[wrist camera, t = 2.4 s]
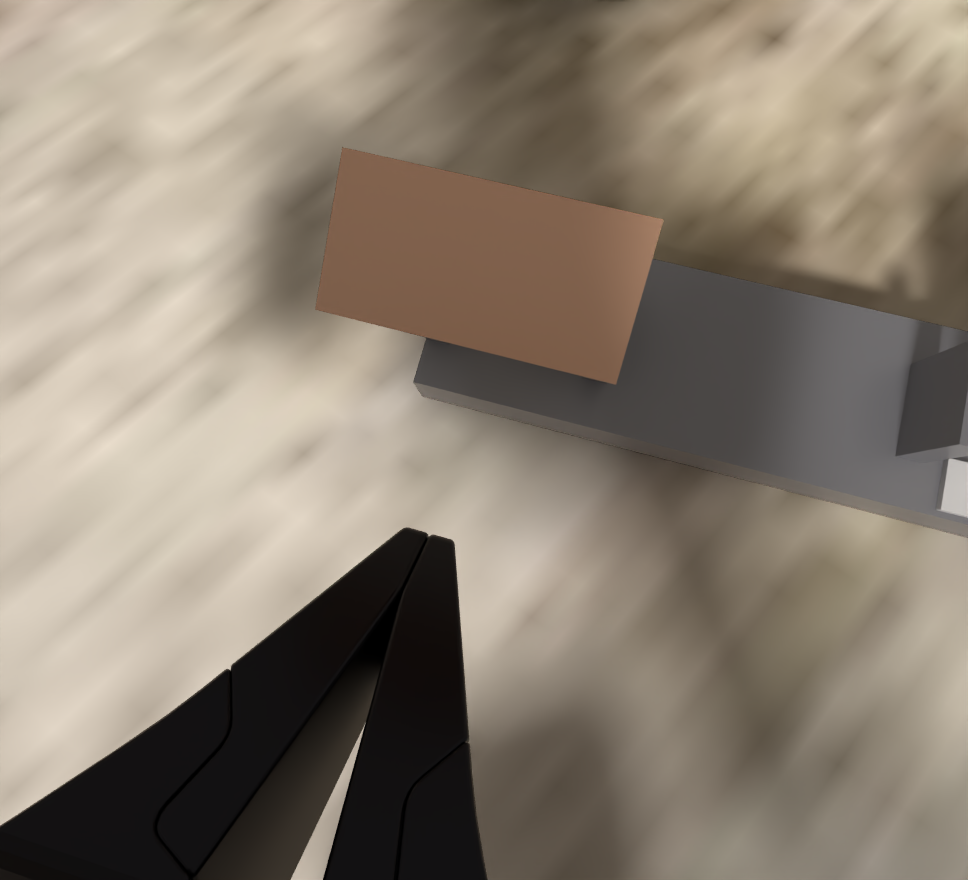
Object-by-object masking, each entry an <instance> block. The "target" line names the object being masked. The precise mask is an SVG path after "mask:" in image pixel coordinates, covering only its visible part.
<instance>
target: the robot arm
mask: <svg viewBox="0 0 968 880" xmlns="http://www.w3.org/2000/svg"><path fill="white" fill-rule="evenodd" d="M365 722H366V724H365ZM364 724H365V727H364ZM363 727H364V731H363V735H362V738H361V742H360V746H359V749H358V753H357V757H356V760H355V764H354V768H353V771H352V775H351V779H350V782H349V786H348V790H347V793H346V797H345V801H344V804H343V808H342V812H341V815H340V819H339V823H338V826H337V830H336V834H335V837H334V841H333V845H332V848H331V852H330V856H329V859H328V863H327V867H326V870H325V874H324V878H323V880H488V879H487V874H486V869H485V863H484V857H483V851H482V846H481V840H480V834H479V828H478V821H477V815H476V806H475V797H474V787H473V778H472V767H471V753H470V745H469V743H468V741H469V730H468V716H467V703H466V690H465V676H464V663H463V650H462V636H461V623H460V610H459V596H458V583H457V570H456V556H455V544H454V542H453V540H451V539H447V538H444V537H440V536H437V535H430V536H428V534H427V533H425V532H422V531H419V530H415V529H411V528H403V529H402V530H400V531H399V532H398V533H396V534H395V535H394V536H393V537H391V538H390V539H389V540H388V541H386V542H385V543H384V544H383V545H381V546H380V547H379V548H378V549H376V550H375V551H374V552H373V553H371V554H370V555H369V556H368V557H366V558H365V559H364V560H363V561H361V562H360V563H359V564H358V565H356V566H355V567H354V568H353V569H351V570H350V571H349V572H348V573H346V574H345V575H344V576H343V577H341V578H340V579H339V580H338V581H336V582H335V583H334V584H333V585H331V586H330V587H329V588H328V589H326V590H325V591H324V592H322V593H321V594H320V595H319V596H317V597H316V598H315V599H314V600H312V601H311V602H310V603H309V604H307V605H306V606H305V607H304V608H302V609H301V610H300V611H299V612H297V613H296V614H295V615H294V616H292V617H291V618H290V619H289V620H287V621H286V622H285V623H284V624H282V625H281V626H280V627H279V628H277V629H276V630H275V631H274V632H272V633H271V634H270V635H269V636H267V637H266V638H265V639H264V640H262V641H261V642H260V643H259V644H257V645H256V646H255V647H254V648H252V649H251V650H250V651H249V652H247V653H246V654H245V655H244V656H242V657H241V658H240V659H238V660H237V661H236V662H235V663H233V664H232V666H231V671H230V670H229V669H226V670H224V671H223V672H222V673H221V674H219V675H218V676H217V677H216V678H214V679H213V680H212V681H211V682H209V683H208V684H207V685H206V686H204V687H203V688H202V689H201V690H199V691H198V692H197V693H195V694H194V695H193V696H191V697H190V698H189V699H187V700H186V701H185V702H183V703H182V704H181V705H179V706H178V707H177V708H175V709H174V710H173V711H171V712H170V713H169V714H168V715H166V716H165V717H163V718H162V719H160V720H159V721H157V722H156V723H155V724H153V725H152V726H150V727H149V728H147V729H146V730H144V731H143V732H141V733H140V734H139V735H137V736H136V737H134V738H133V739H131V740H130V741H128V742H127V743H125V744H124V745H122V746H121V747H119V748H118V749H116V750H115V751H113V752H112V753H110V754H109V755H107V756H106V757H104V758H103V759H101V760H100V761H98V762H97V763H95V764H94V765H92V766H91V767H89V768H88V769H86V770H85V771H83V772H81V773H80V774H78V775H77V776H75V777H74V778H72V779H71V780H69V781H68V782H66V783H65V784H63V785H62V786H60V787H59V788H57V789H56V790H54V791H53V792H51V793H50V794H48V795H47V796H45V797H44V798H42V799H41V800H39V801H37V802H36V803H34V804H33V805H31V806H30V807H28V808H27V809H25V810H24V811H22V812H21V813H19V814H18V815H16V816H15V817H13V818H12V819H10V820H8V821H7V822H5V823H4V824H2V825H1V826H0V880H291V877H292V875H293V873H294V871H295V869H296V867H297V865H298V863H299V861H300V859H301V856H302V854H303V852H304V850H305V848H306V846H307V844H308V842H309V840H310V838H311V836H312V833H313V831H314V829H315V827H316V825H317V823H318V821H319V819H320V817H321V815H322V812H323V810H324V808H325V806H326V804H327V802H328V800H329V798H330V796H331V794H332V792H333V789H334V787H335V785H336V783H337V781H338V779H339V777H340V775H341V773H342V771H343V768H344V766H345V764H346V762H347V760H348V758H349V756H350V754H351V752H352V750H353V747H354V745H355V743H356V741H357V739H358V737H359V735H360V733H361V731H362V729H363Z"/></svg>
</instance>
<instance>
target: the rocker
mask: <svg viewBox="0 0 968 880" xmlns="http://www.w3.org/2000/svg"><path fill="white" fill-rule="evenodd" d="M663 221H664V219H659V218H655V217H650V216H646V215H641V214H637V213H632V212H628V211H623V210H619V209H615V208H610V207H606V206H601V205H597V204H592V203H588V202H583V201H579V200H575V199H570V198H566V197H561V196H557V195H552V194H548V193H543V192H539V191H534V190H530V189H526V188H521V187H517V186H512V185H508V184H503V183H499V182H494V181H490V180H486V179H481V178H477V177H472V176H468V175H463V174H459V173H454V172H450V171H445V170H441V169H437V168H432V167H428V166H423V165H419V164H414V163H410V162H405V161H401V160H397V159H392V158H388V157H383V156H379V155H374V154H370V153H365V152H361V151H356V150H352V149H348V148H343V147H342V153H341V159H340V165H339V171H338V177H337V183H336V189H335V195H334V201H333V207H332V213H331V219H330V225H329V231H328V237H327V243H326V249H325V255H324V261H323V267H322V273H321V279H320V284H319V290H318V296H317V302H316V308H315V310H319V311H323V312H327V313H331V314H335V315H339V316H343V317H347V318H351V319H355V320H359V321H363V322H367V323H371V324H375V325H379V326H383V327H387V328H391V329H395V330H399V331H403V332H407V333H411V334H415V335H419V336H423V337H427V338H431V339H435V340H439V341H443V342H447V343H451V344H455V345H459V346H463V347H467V348H471V349H475V350H479V351H483V352H487V353H491V354H495V355H499V356H503V357H507V358H511V359H515V360H519V361H523V362H527V363H531V364H535V365H539V366H543V367H547V368H551V369H555V370H559V371H563V372H567V373H571V374H575V375H579V376H583V377H587V378H591V379H595V380H599V381H603V382H607V383H611V384H615V385H616V383H617V379H618V376H619V373H620V369H621V366H622V362H623V359H624V355H625V352H626V348H627V345H628V342H629V338H630V335H631V331H632V328H633V324H634V321H635V318H636V314H637V311H638V307H639V304H640V300H641V297H642V293H643V290H644V287H645V283H646V280H647V276H648V273H649V269H650V266H651V262H652V259H653V256H654V252H655V249H656V245H657V242H658V238H659V235H660V231H661V228H662V225H663Z"/></svg>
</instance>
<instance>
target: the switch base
mask: <svg viewBox="0 0 968 880" xmlns="http://www.w3.org/2000/svg"><path fill="white" fill-rule="evenodd" d="M414 384H415V385H416V387H417V389H418V390H419V392H420V393H421V395H422V396H423V397H427V398H431V399H435V400H438V401H442V402H446V403H450V404H454V405H458V406H462V407H465V408H469V409H473V410H477V411H481V412H485V413H489V414H493V415H496V416H500V417H504V418H508V419H512V420H516V421H520V422H523V423H527V424H531V425H535V426H539V427H543V428H547V429H550V430H554V431H558V432H562V433H566V434H570V435H574V436H577V437H581V438H585V439H589V440H593V441H597V442H601V443H604V444H608V445H612V446H616V447H620V448H624V449H628V450H631V451H635V452H639V453H643V454H647V455H651V456H655V457H658V458H662V459H666V460H670V461H674V462H678V463H682V464H685V465H689V466H693V467H697V468H701V469H705V470H709V471H712V472H716V473H720V474H724V475H728V476H732V477H736V478H739V479H743V480H747V481H751V482H755V483H759V484H763V485H766V486H770V487H774V488H778V489H782V490H786V491H790V492H793V493H797V494H801V495H805V496H809V497H813V498H817V499H821V500H824V501H828V502H832V503H836V504H840V505H844V506H848V507H851V508H855V509H859V510H863V511H867V512H871V513H875V514H878V515H882V516H886V517H890V518H894V519H898V520H902V521H905V522H909V523H913V524H917V525H921V526H925V527H929V528H932V529H936V530H940V531H944V532H948V533H952V534H956V535H959V536H963V537H967V538H968V331H963V330H959V329H955V328H950V327H946V326H942V325H937V324H933V323H929V322H924V321H920V320H916V319H911V318H907V317H903V316H898V315H894V314H890V313H885V312H881V311H877V310H872V309H868V308H864V307H859V306H855V305H851V304H846V303H842V302H838V301H833V300H829V299H825V298H820V297H816V296H812V295H807V294H803V293H799V292H794V291H790V290H786V289H781V288H777V287H773V286H768V285H764V284H760V283H755V282H751V281H747V280H742V279H738V278H734V277H729V276H725V275H721V274H716V273H712V272H708V271H703V270H699V269H695V268H690V267H686V266H682V265H677V264H673V263H669V262H664V261H660V260H656V259H652V262H651V266H650V269H649V273H648V276H647V280H646V283H645V287H644V290H643V293H642V297H641V300H640V304H639V307H638V311H637V314H636V318H635V321H634V324H633V328H632V331H631V335H630V338H629V342H628V345H627V348H626V352H625V355H624V359H623V362H622V366H621V369H620V373H619V376H618V379H617V383H616V385H615V384H611V383H607V382H603V381H599V380H595V379H591V378H587V377H583V376H579V375H575V374H571V373H567V372H563V371H559V370H555V369H551V368H547V367H543V366H539V365H535V364H531V363H527V362H523V361H519V360H515V359H511V358H507V357H503V356H499V355H495V354H491V353H487V352H483V351H479V350H475V349H471V348H467V347H463V346H459V345H455V344H451V343H447V342H443V341H439V340H435V339H431V338H427V337H426V341H425V345H424V348H423V351H422V355H421V358H420V361H419V365H418V368H417V371H416V375H415V378H414Z"/></svg>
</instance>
